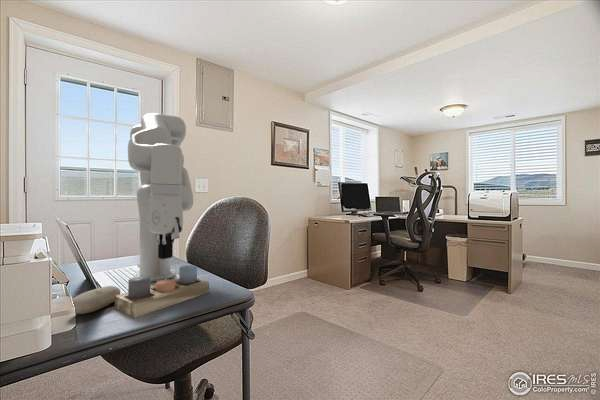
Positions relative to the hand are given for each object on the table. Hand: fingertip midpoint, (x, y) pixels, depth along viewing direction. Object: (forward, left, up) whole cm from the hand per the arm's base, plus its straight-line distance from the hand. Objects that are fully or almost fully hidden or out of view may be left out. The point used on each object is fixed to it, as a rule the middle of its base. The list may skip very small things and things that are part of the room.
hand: (165, 257), depth 78 cm
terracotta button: (+1, 0, -10) cm, 11 cm away
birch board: (+1, 0, -11) cm, 11 cm away
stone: (-7, -14, -12) cm, 19 cm away
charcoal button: (+1, -7, -8) cm, 11 cm away
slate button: (+1, +7, -8) cm, 10 cm away
